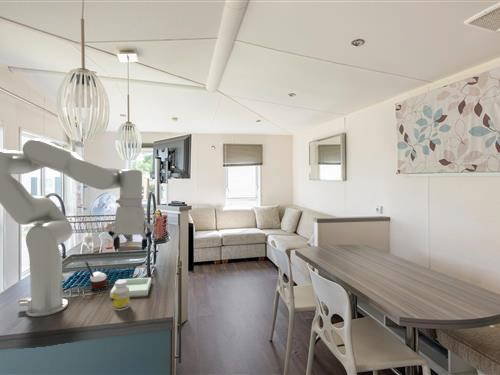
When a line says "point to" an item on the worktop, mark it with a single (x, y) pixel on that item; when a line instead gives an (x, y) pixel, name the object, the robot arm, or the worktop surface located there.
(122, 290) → the supplement bottle
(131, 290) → the tray
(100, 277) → the cocoa
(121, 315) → the worktop surface
